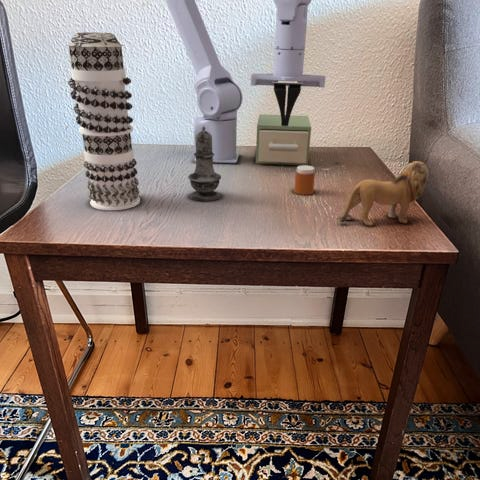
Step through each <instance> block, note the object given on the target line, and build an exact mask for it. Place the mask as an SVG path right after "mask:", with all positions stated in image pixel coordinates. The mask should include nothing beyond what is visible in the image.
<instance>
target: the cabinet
mask: <svg viewBox="0 0 480 480" xmlns="http://www.w3.org/2000/svg"><path fill="white" fill-rule="evenodd" d="M263 129H275V130H304V131H305V132H308V133H309V134H308V144H307V155H306V163H287V162H260V161H258V155H259V131H260V130H263ZM311 135H312V125H311V122H310V118H309V115H294V114H293V115H292V114H291V115H290V119H289V124H288V126H281V114H265V113H263V114H262V113H258V119H257V124H256V145H255V164H258V165H284V166H285V165H287V166H302V165H306V166H309V157H310V146H311V145H310V144H311Z"/></svg>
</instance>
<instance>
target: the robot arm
mask: <svg viewBox="0 0 480 480" xmlns="http://www.w3.org/2000/svg"><path fill="white" fill-rule="evenodd" d="M273 2H274V4H275V5H276V19H275V36H274V37H275V38H274V56H273V57H274V60H273V73H251V74H250V86H271V87H272V86H273V93H274V96H275V98H276V101H277V104H278V108H279V109H278V110H279V113H280V114H279V115H281V126H288V124H289V119H290V115H292V112H293V109H294V106H295V104H296V102H297V100H298V98H299V96H300V94H301V91H302V87H309V88H310V87H313V88H325V85H326V75H321V74H319V75H318V74H304V63H305V51H306V50H305V49H306V39H307V25H308V13H309V11H308V10H309V5H310V4H311V2H312V0H273ZM165 3H166V5H167V8H168V9H169V12H170V15H171V16H172V17H171V18H172V19H173V21H174V24H175V27H176V29H177V31H178V34H179V35H180V38H181V40H182V43H183V45H184V48H185V50H186V52H187V54H188V57H189V59H190V62H191V65H192V67H193V69H194V72H195V74H196V79H195V81H194V84H193V88H194V90H195V94H196V100H197V101H196V102H197V107H198V109H199V111H200V113H201V114H202V116H197V117H195V118H194V121H193V144H194V145H193V149H194V153H196V135H197V134H198V133H199V132H201V131H202V127H203V126H204V127H205V128H206V129H205V131H207V132H209V133H210V134H211V135H212V152H213V153H214V156H213V163H218V164H237V163H238V160H239V157H240V153H239V152H237V125H238V124H237V123H238V110H240V108H241V107H242V105H243V104H242V103H243V98H244V97H243V91H242V89H241V87H240V86H239V85H238V84H237V83H236V82H235V81H234V79H233V78H232V74H231V73H230V72H229V71H228V70H227V69H226V68H225V67H224V66H223V65H222V64H221V62H220V59H219V57H218V54H217V51H216V50H215V47H214V44H213V43H212V39H211V37H210V35H209V32H208V30H207V27H206V24H205V22H204V20H203V17H202V15H201V12H200V9H199V7H198V5H197V2H196V0H165ZM193 160H194V161H193V162H195V163H196V157H195V156H194V159H193Z"/></svg>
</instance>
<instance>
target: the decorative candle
mask: <svg viewBox="0 0 480 480" xmlns="http://www.w3.org/2000/svg"><path fill="white" fill-rule="evenodd" d="M66 46H67V47H68V51H69V59H70V64H71V65H70V66H71V68H70V74H71V77H70V79H69V80H68V81H67V84H68V86H69V88H71V89H72V91H70V97H71V99H72V100H75V102H76V103H75V104H74V106H73V111H74V113H75V114H76V115H77V116H76V117H75V123H76V124H77V125H79V128H78V133H79V134H81V136H82V142H83V148H84V149H83V156H84V157H83V158H84V160H85V161H83V167H84V169H85V168H86V169H87V170H86V171H85V172H84V173H85V177H86V178H88V179H89V180H87V182H86V188H87V189H88V190H89V191H88V198H89V199H90V202H89V204H90V206H91V207H92V208H95V209H97V210H101V211H121V210H128V209H131V208H134V207H136V206H137V205H139V204H140V202H141V197H140V196H139V195H140V189H139V187H138V186H139V185H140V182H139V179H138V178H137V177H136V175H138V170H137V168H135V167H136V165H137V164H138V163H137V160H136V158H135V154H134V152H135V151H134V148H133V144H132V135H131V133H132V132H133V131H134V127H133V125H131V124H132V123H133V122H134V119H133V117H131V116H130V115H129V111H130V110H131V109H133V104H131V103H130V102H129V101H128V100H130V99H131V98H132V97H133V95H132V93H131V92H129V91H128V90H126V87H128V85H130V84H131V83H132V80H131V78H130V77H128V76H127V73H126V68H125V65H124V57H123V48H122V47H124V44H123V45H122V44H121V43H120V41H119V40H118V38H117V36H116V35H115V34H114V33H111V32H90V31H89V32H85V31H84V32H76V33H75V32H74V34H73V35H72V37H71V40H70V42H69V43H68V44H67V45H66Z"/></svg>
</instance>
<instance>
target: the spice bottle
mask: <svg viewBox="0 0 480 480" xmlns="http://www.w3.org/2000/svg"><path fill="white" fill-rule="evenodd" d="M294 173H295V174H294V175H295V176H294V187H293V192H294V193H295V194H296V195H301V196H302V195H303V196H307V195H308V196H309V195H312V194H314V188H315V179H316V171H315V167H314V166H312V165H297V167H296V170H295V172H294Z"/></svg>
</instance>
